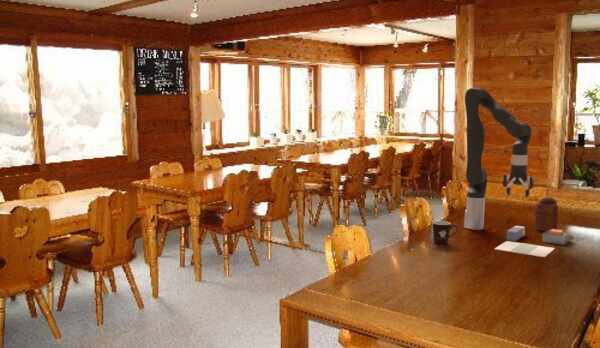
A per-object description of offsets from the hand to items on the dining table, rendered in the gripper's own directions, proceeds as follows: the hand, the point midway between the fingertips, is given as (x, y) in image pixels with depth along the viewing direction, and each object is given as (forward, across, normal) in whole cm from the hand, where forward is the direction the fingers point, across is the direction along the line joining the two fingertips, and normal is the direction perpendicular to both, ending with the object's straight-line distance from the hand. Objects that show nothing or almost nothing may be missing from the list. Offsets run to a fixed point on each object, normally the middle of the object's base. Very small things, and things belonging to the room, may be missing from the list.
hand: (517, 196), depth 273 cm
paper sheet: (+21, -10, +20) cm, 31 cm away
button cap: (+19, -18, -4) cm, 26 cm away
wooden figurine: (+22, -8, -26) cm, 35 cm away
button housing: (+21, -18, -4) cm, 28 cm away
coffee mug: (+21, +24, +33) cm, 46 cm away
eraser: (+21, 0, 0) cm, 21 cm away
